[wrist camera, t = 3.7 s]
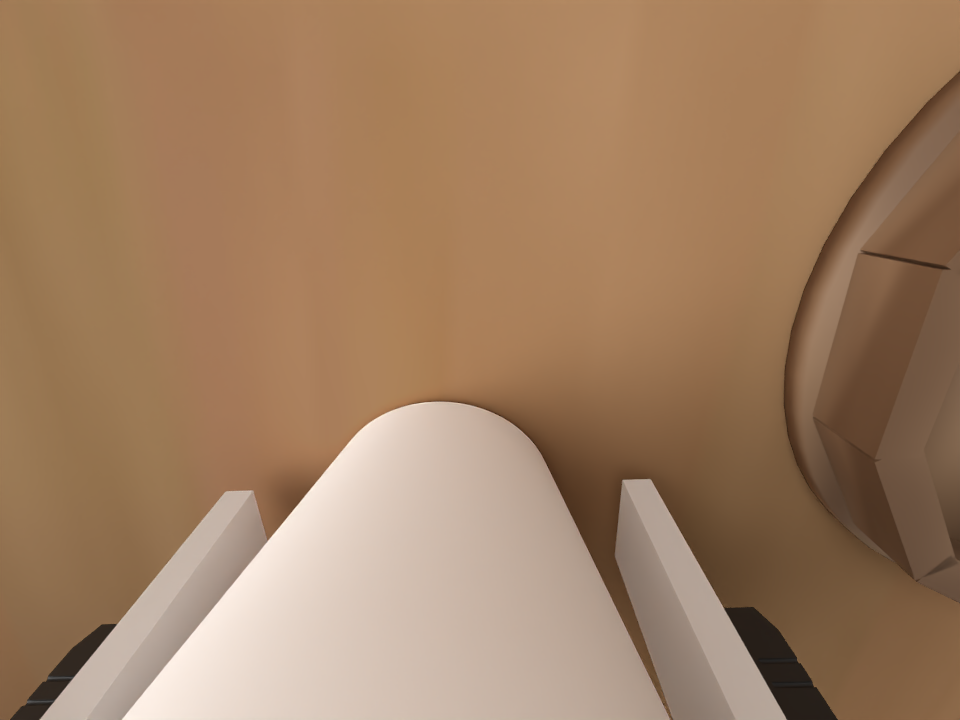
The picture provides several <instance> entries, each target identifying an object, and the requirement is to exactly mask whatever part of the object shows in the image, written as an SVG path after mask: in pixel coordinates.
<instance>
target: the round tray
mask: <svg viewBox="0 0 960 720" xmlns="http://www.w3.org/2000/svg"><path fill="white" fill-rule="evenodd" d="M784 407H785V415H786V422H787V429H788V436H789V439H790V443H791V446H792V449H793V452H794V455H795V458H796V461H797V464H798V466H799V468H800V470H801V472H802V474H803V476H804V477H805V479H806V481H807V483H808V485H809V487H810V489H811V490H812V491H813V492H814V494H815V495H816V496H817V497H818V499H819V500H820V501H821V502H822V504H823V505H824V506H825V507H826V508H827V510H828V511H829V512H830V513H831V514H832V515H833V516H835V517H836V518H837V519H838V520H839V521H840V522H841V523H842V524H843V525H844V526H845V527H846V528H847V529H848V530H849V531H851V532H852V533H853V534H854V535H855V536H856V537H858V538H859V539H860V540H861V541H862V542H863V543H865V544H866V545H867V546H868V547H870V548H871V549H873V550H875V551H876V552H878V553H880V554H881V555H883V556H885V557H886V558H888V559H890V560H891V561H893V562H896V563H897V564H898V565H899V566H900V567H901V568H902V569H903V570H904V571H905V572H907V573H908V574H909V575H910V576H911V577H912V578H913V579H914V580H915V581H916V582H918V583H920V584H922V585H924V586H926V587H928V588H930V589H932V590H934V591H936V592H938V593H940V594H942V595H944V596H946V597H948V598H951V599H953V600H955V601H957V602H959V603H960V72H959V73H958V74H957V75H956V76H955V77H954V78H952V79H951V80H950V81H949V82H948V83H947V84H946V85H945V86H944V87H943V88H942V89H941V90H940V91H939V92H938V93H937V94H936V95H935V96H934V97H933V98H932V99H931V100H929V101H928V102H927V104H926V105H925V106H924V107H923V108H922V109H921V110H920V112H919V113H918V114H917V115H916V116H915V117H914V118H913V120H912V121H911V122H910V123H909V124H908V125H907V126H906V128H905V129H904V130H903V131H902V132H901V133H900V134H899V136H898V137H897V138H896V139H895V140H894V141H893V142H892V144H891V145H890V146H889V147H888V148H887V149H886V151H885V152H884V153H883V155H882V156H881V158H880V159H879V160H878V162H877V163H876V164H875V166H874V167H873V169H872V170H871V171H870V173H869V174H868V176H867V177H866V178H865V180H864V181H863V183H862V184H861V185H860V187H859V188H858V189H857V191H856V192H855V194H854V195H853V196H852V198H851V199H850V201H849V203H848V205H847V206H846V208H845V210H844V212H843V213H842V215H841V217H840V218H839V220H838V222H837V224H836V225H835V227H834V229H833V230H832V232H831V234H830V236H829V237H828V239H827V241H826V243H825V244H824V247H823V249H822V251H821V253H820V255H819V258H818V260H817V262H816V264H815V267H814V269H813V271H812V273H811V276H810V278H809V280H808V282H807V285H806V287H805V289H804V293H803V296H802V299H801V302H800V305H799V309H798V312H797V315H796V318H795V322H794V325H793V328H792V332H791V337H790V343H789V349H788V355H787V361H786V366H785V390H784Z"/></svg>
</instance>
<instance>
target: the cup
mask: <svg viewBox="0 0 960 720" xmlns="http://www.w3.org/2000/svg"><path fill="white" fill-rule="evenodd" d="M122 720H670V718H669V716H668V714H667V712H666V710H665V708H664V706H663V704H662V702H661V700H660V697H659V695H658V693H657V691H656V689H655V687H654V685H653V683H652V681H651V679H650V677H649V675H648V673H647V671H646V669H645V667H644V664H643V662H642V660H641V658H640V656H639V654H638V652H637V650H636V648H635V646H634V644H633V642H632V640H631V638H630V636H629V634H628V631H627V629H626V627H625V625H624V623H623V621H622V619H621V617H620V615H619V613H618V611H617V609H616V607H615V605H614V603H613V601H612V598H611V596H610V594H609V592H608V590H607V588H606V586H605V584H604V582H603V580H602V578H601V576H600V574H599V572H598V570H597V568H596V565H595V563H594V561H593V559H592V557H591V555H590V553H589V551H588V549H587V547H586V545H585V543H584V541H583V539H582V537H581V535H580V533H579V530H578V528H577V526H576V524H575V522H574V520H573V518H572V516H571V514H570V512H569V510H568V508H567V506H566V504H565V502H564V500H563V498H562V495H561V493H560V491H559V489H558V487H557V485H556V483H555V481H554V479H553V477H552V475H551V473H550V471H549V469H548V467H547V465H546V462H545V461H544V459H543V457H542V455H541V453H540V452H539V450H538V449H537V447H536V446H535V444H534V443H533V442H532V441H531V440H530V439H529V437H527V436H526V435H525V434H524V433H523V432H522V431H521V430H520V429H519V428H517V427H516V426H515V425H513V424H512V423H510V422H509V421H507V420H506V419H504V418H502V417H500V416H498V415H496V414H494V413H492V412H490V411H487V410H485V409H482V408H478V407H475V406H471V405H467V404H462V403H454V402H424V403H418V404H412V405H408V406H404V407H401V408H398V409H395V410H392V411H390V412H388V413H386V414H383V415H381V416H380V417H378V418H376V419H375V420H373V421H371V422H370V423H369V424H367V425H366V426H365V427H363V428H362V429H361V430H360V431H359V432H358V433H357V434H356V435H355V436H354V437H353V438H352V440H351V441H350V442H349V443H348V444H347V446H346V447H345V448H344V449H343V450H342V452H341V453H340V454H339V455H338V457H337V458H336V459H335V460H334V461H333V463H332V464H331V465H330V466H329V467H328V469H327V470H326V471H325V472H324V474H323V475H322V476H321V477H320V478H319V480H318V481H317V482H316V483H315V485H314V486H313V487H312V488H311V489H310V491H309V492H308V493H307V494H306V496H305V497H304V498H303V499H302V500H301V502H300V503H299V504H298V505H297V506H296V508H295V509H294V510H293V511H292V513H291V514H290V515H289V516H288V517H287V519H286V520H285V521H284V522H283V524H282V525H281V526H280V527H279V528H278V530H277V531H276V532H275V533H274V534H273V536H272V537H271V538H270V539H269V541H268V542H267V543H266V544H265V545H264V547H263V548H262V549H261V550H260V552H259V553H258V554H257V555H256V556H255V558H254V559H253V560H252V561H251V563H250V564H249V565H248V566H247V567H246V569H245V570H244V571H243V572H242V573H241V575H240V576H239V577H238V578H237V580H236V581H235V582H234V583H233V584H232V586H231V587H230V588H229V589H228V591H227V592H226V593H225V594H224V595H223V597H222V598H221V599H220V600H219V602H218V603H217V604H216V605H215V606H214V608H213V609H212V610H211V611H210V613H209V614H208V615H207V616H206V617H205V619H204V620H203V621H202V622H201V623H200V625H199V626H198V627H197V628H196V630H195V631H194V632H193V633H192V634H191V636H190V637H189V638H188V639H187V641H186V642H185V643H184V644H183V645H182V647H181V648H180V649H179V650H178V652H177V653H176V654H175V655H174V656H173V658H172V659H171V660H170V661H169V662H168V664H167V665H166V666H165V667H164V669H163V670H162V671H161V672H160V673H159V675H158V676H157V677H156V678H155V680H154V681H153V682H152V683H151V684H150V686H149V687H148V688H147V689H146V691H145V692H144V693H143V694H142V695H141V697H140V698H139V699H138V700H137V702H136V703H135V704H134V705H133V706H132V708H131V709H130V710H129V711H128V713H127V714H126V715H125V716H124V718H123V719H122Z"/></svg>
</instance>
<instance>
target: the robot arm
mask: <svg viewBox="0 0 960 720" xmlns="http://www.w3.org/2000/svg"><path fill="white" fill-rule="evenodd" d="M267 542H268V541H267V538H266V534H265V531H264V527H263V524H262V520H261V517H260V513H259V510H258V506H257V502H256V499H255V495H254V492H253V491H226V492H225V493H224V494H223V495H222V497H221V498H220V499H219V500H218V502H217V503H216V504H215V505H214V506H213V508H212V509H211V510H210V511H209V513H208V514H207V515H206V516H205V517H204V519H203V520H202V521H201V522H200V524H199V525H198V526H197V527H196V529H195V530H194V531H193V532H192V533H191V535H190V536H189V537H188V538H187V540H186V541H185V542H184V543H183V544H182V546H181V547H180V548H179V549H178V551H177V552H176V553H175V554H174V555H173V557H172V558H171V559H170V560H169V562H168V563H167V564H166V565H165V567H164V568H163V569H162V570H161V571H160V573H159V574H158V575H157V576H156V578H155V579H154V580H153V581H152V582H151V584H150V585H149V586H148V587H147V589H146V590H145V591H144V592H143V594H142V595H141V596H140V597H139V598H138V600H137V601H136V602H135V603H134V605H133V606H132V607H131V608H130V609H129V611H128V612H127V613H126V614H125V616H124V617H123V618H122V619H121V620H120V622H119V623H118V624H104V625H101V626H100V627H98V628H97V629H96V630H95V631H93V632H92V633H91V634H90V635H88V636H87V637H86V638H85V639H83V640H82V641H81V642H80V643H78V644H77V645H76V646H75V647H73V648H72V649H71V650H70V651H69V653H68V654H67V655H66V656H65V657H64V658H63V660H62V661H61V662H60V663H59V664H58V665H57V666H56V668H55V669H54V670H53V671H52V672H51V673H50V674H49V676H48V679H47V681H46V682H43V683H42V684H41V685H40V686H39V687H38V688H37V689H36V691H35V692H34V693H33V694H32V695H31V696H30V697H29V699H28V700H27V704H26V705H25V706H22V707H21V708H20V709H19V710H18V711H17V712H16V714H15V715H14V716H13V717H12V718H11V719H10V720H122V719H123V718H124V716H125V715H126V714H127V713H128V711H129V710H130V709H131V708H132V706H133V705H134V704H135V703H136V702H137V700H138V699H139V698H140V697H141V695H142V694H143V693H144V692H145V691H146V689H147V688H148V687H149V686H150V684H151V683H152V682H153V681H154V680H155V678H156V677H157V676H158V675H159V673H160V672H161V671H162V670H163V669H164V667H165V666H166V665H167V664H168V662H169V661H170V660H171V659H172V658H173V656H174V655H175V654H176V653H177V652H178V650H179V649H180V648H181V647H182V645H183V644H184V643H185V642H186V641H187V639H188V638H189V637H190V636H191V634H192V633H193V632H194V631H195V630H196V628H197V627H198V626H199V625H200V623H201V622H202V621H203V620H204V619H205V617H206V616H207V615H208V614H209V613H210V611H211V610H212V609H213V608H214V606H215V605H216V604H217V603H218V602H219V600H220V599H221V598H222V597H223V595H224V594H225V593H226V592H227V591H228V589H229V588H230V587H231V586H232V584H233V583H234V582H235V581H236V580H237V578H238V577H239V576H240V575H241V573H242V572H243V571H244V570H245V569H246V567H247V566H248V565H249V564H250V563H251V561H252V560H253V559H254V558H255V556H256V555H257V554H258V553H259V552H260V550H261V549H262V548H263V547H264V545H265V544H266V543H267ZM615 558H616V561H617V564H618V567H619V570H620V572H621V575H622V578H623V581H624V584H625V586H626V589H627V592H628V595H629V598H630V601H631V603H632V606H633V609H634V612H635V615H636V617H637V620H638V623H639V626H640V629H641V631H642V634H643V637H644V640H645V643H646V646H647V648H648V651H649V654H650V657H651V660H652V662H653V665H654V668H655V671H656V674H657V676H658V679H659V682H660V685H661V688H662V691H663V693H664V696H665V699H666V702H667V705H668V707H669V710H670V713H671V716H672V719H673V720H838V719H837V718H836V716H835V715H834V713H833V712H832V710H831V709H830V707H829V706H828V704H827V703H826V701H825V700H824V698H823V697H822V695H821V694H820V692H819V691H818V689H817V688H816V687H814V686H813V684H812V680H811V679H810V677H809V675H808V674H807V672H806V671H805V669H804V668H803V666H802V665H801V663H798V661H797V657H796V656H795V654H794V653H793V651H792V650H791V648H790V647H789V645H788V644H787V642H786V641H785V639H784V638H783V636H782V635H781V633H780V632H779V630H778V629H777V628H776V627H775V626H773V625H772V624H771V623H770V622H769V621H768V620H767V619H766V618H765V617H764V616H762V615H761V614H760V613H759V612H758V611H757V610H756V609H755V608H754V607H743V608H723V606H722V604H721V603H720V601H719V599H718V597H717V596H716V594H715V592H714V590H713V588H712V587H711V585H710V583H709V581H708V580H707V578H706V576H705V574H704V573H703V571H702V569H701V567H700V565H699V564H698V562H697V560H696V558H695V557H694V555H693V553H692V551H691V550H690V548H689V546H688V544H687V543H686V541H685V539H684V537H683V535H682V534H681V532H680V530H679V528H678V527H677V525H676V523H675V521H674V520H673V518H672V516H671V514H670V513H669V511H668V509H667V507H666V505H665V504H664V502H663V500H662V498H661V497H660V495H659V493H658V491H657V490H656V488H655V486H654V484H653V482H652V481H651V479H635V480H622V490H621V500H620V509H619V519H618V528H617V538H616V548H615Z"/></svg>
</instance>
